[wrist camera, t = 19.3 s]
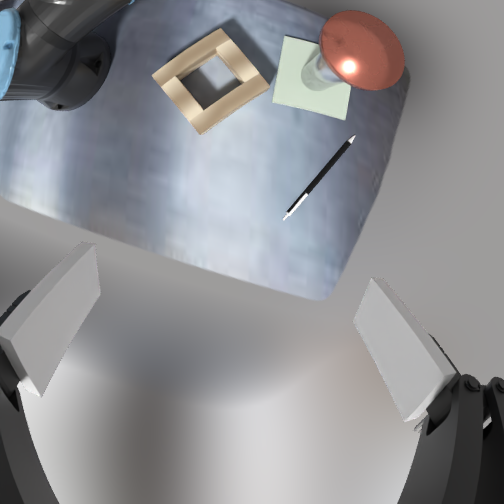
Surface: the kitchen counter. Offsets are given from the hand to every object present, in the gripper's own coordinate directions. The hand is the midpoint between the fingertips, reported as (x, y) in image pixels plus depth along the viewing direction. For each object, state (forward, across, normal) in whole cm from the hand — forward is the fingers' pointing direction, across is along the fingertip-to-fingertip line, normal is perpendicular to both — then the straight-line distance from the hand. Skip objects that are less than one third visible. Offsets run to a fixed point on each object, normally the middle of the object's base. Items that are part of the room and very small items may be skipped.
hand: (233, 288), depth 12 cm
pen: (+33, +14, +2) cm, 36 cm away
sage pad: (+33, +10, +18) cm, 39 cm away
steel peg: (+32, +10, +18) cm, 38 cm away
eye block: (+33, -6, +14) cm, 36 cm away
